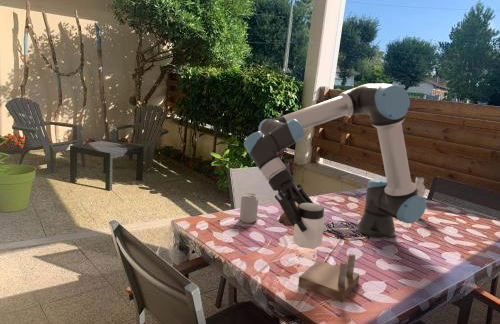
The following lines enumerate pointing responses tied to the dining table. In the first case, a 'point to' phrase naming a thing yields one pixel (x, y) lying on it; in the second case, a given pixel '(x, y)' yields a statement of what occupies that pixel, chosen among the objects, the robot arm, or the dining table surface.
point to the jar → (310, 225)
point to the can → (249, 208)
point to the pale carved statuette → (420, 186)
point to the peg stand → (331, 279)
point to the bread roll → (284, 220)
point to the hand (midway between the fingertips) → (318, 235)
